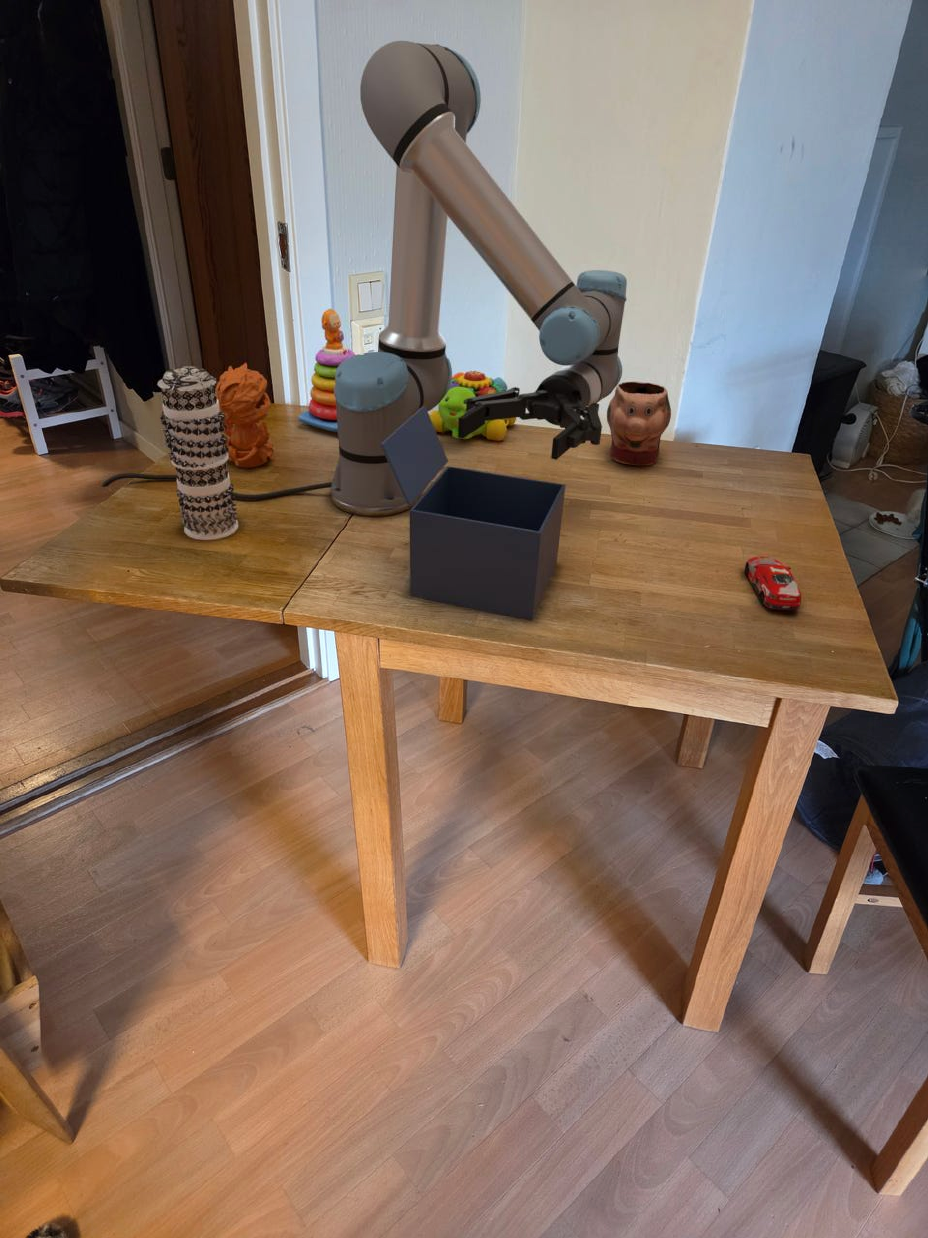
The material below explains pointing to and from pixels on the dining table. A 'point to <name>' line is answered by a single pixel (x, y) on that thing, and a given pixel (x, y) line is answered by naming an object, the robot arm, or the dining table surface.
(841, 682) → the dining table surface
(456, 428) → the turtle toy
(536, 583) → the toy box
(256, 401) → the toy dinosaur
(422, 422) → the box flap
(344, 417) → the robot arm
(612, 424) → the decorative planter
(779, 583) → the race car
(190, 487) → the decorative candle
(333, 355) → the stacking toy
